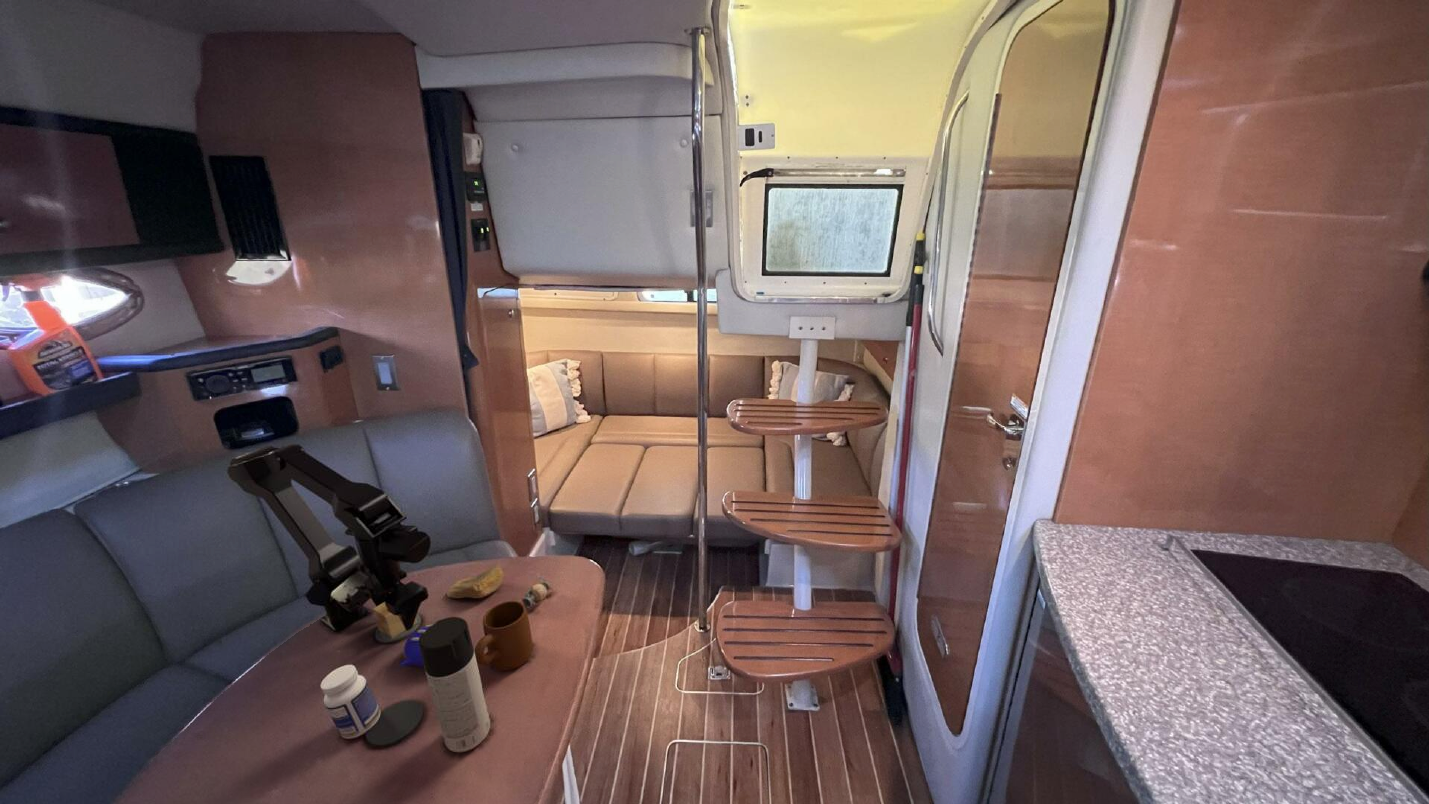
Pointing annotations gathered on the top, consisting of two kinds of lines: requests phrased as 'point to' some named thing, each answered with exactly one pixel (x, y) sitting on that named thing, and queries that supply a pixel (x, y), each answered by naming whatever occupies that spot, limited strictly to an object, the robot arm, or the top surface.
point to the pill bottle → (350, 702)
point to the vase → (536, 593)
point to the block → (388, 621)
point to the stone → (478, 584)
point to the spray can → (455, 683)
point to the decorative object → (414, 649)
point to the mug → (505, 636)
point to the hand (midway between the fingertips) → (396, 620)
